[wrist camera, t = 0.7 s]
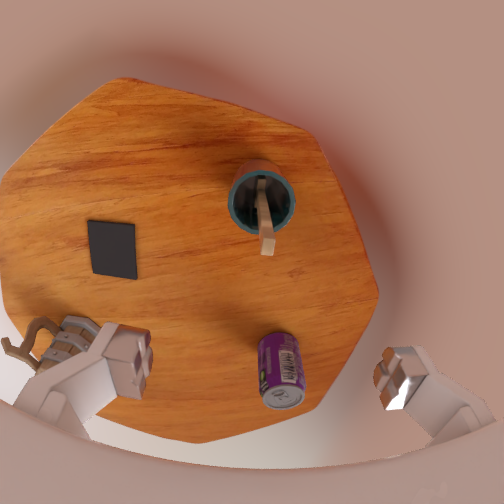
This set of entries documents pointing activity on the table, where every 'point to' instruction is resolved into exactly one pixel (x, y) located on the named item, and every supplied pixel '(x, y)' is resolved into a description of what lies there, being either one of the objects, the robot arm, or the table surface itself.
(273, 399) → the beverage can
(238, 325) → the table surface
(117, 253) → the mat
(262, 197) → the wooden stir stick
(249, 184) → the cup
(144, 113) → the table surface
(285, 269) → the table surface
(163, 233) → the table surface
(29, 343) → the tankard
